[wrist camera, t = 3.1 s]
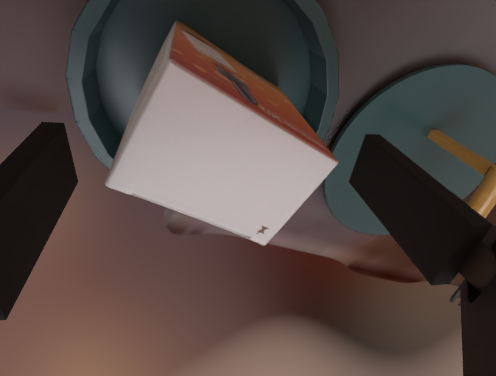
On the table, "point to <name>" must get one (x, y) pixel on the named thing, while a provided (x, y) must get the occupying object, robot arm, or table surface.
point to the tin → (214, 30)
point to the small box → (218, 142)
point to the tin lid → (423, 138)
